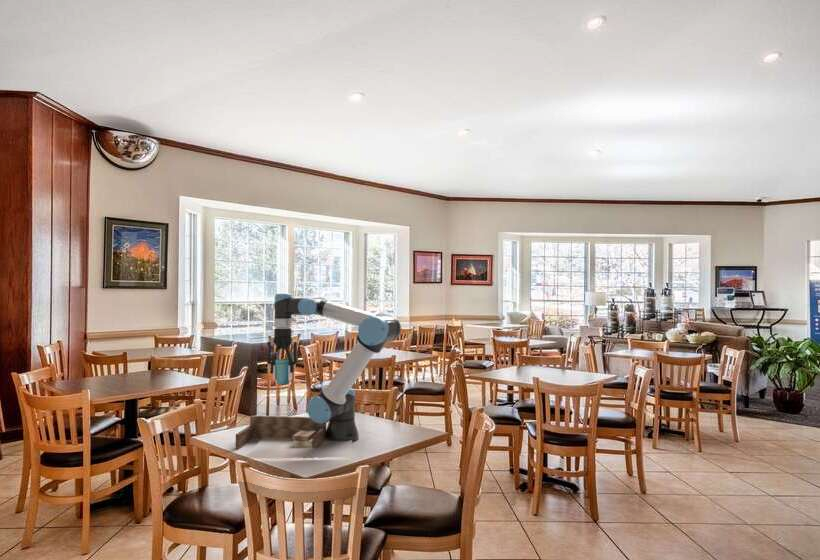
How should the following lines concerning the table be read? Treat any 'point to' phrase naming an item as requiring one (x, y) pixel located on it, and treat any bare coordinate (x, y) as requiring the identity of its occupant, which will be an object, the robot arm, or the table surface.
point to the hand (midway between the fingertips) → (282, 379)
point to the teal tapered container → (282, 368)
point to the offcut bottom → (300, 446)
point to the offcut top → (304, 435)
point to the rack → (279, 429)
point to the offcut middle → (303, 443)
